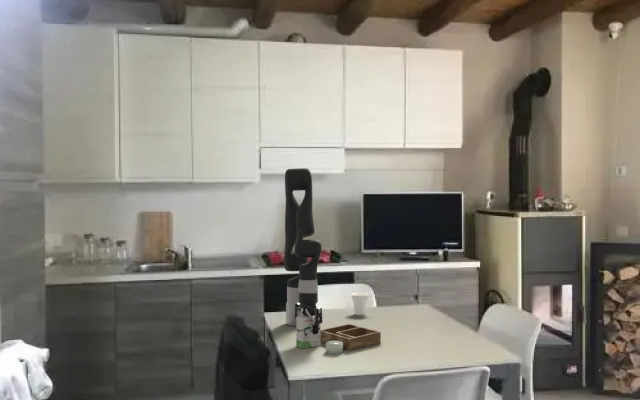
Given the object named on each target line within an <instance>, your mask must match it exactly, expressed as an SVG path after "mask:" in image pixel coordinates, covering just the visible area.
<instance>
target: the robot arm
mask: <svg viewBox="0 0 640 400" xmlns="http://www.w3.org/2000/svg"><path fill="white" fill-rule="evenodd" d="M284 191H285V192H284V193H285V194H284V195H285V213H284V237H285V238H284V251H283V252H284V253H283V254H284V255H283V267H284V270H285V271H286V272H298V275H296V276H294V277H291V278H289V279H287V282H286V283H287V284H286V298H287V299H286V300H287V301H286V303H285V312H286V313H285V319H286V320H285V323H286V324H287V326H291V327H296V317H297V316H300V315H304V316H307V317H309V319H310V320H311V321H312V323H313V334H314V335H315V334H318V325H319V324H320V325H321V324H323V309H322V307H317V304H318V302H319V297H318V296H319V294H318V292H319V287H318V286H319V285H318V265H319V259H320V257H321V253H322V249H323V248H322V243H321V242H320V240H319V239H305V238H308V237H311V236H313V235H314V234H315V222H314V215H313V213H314V212H313V177H312V171H311V170H310V169H309V168H306V167H304V168H303V167H302V168H288V169H286V170H285V173H284ZM295 191H296V192H297V191H299V192H300V191H304V196H303V199H302V200H301V203H300V204H299V202H298V200H297V199H296V197H295V195H294V192H295ZM293 249H294V250H293ZM309 258H310V260H309ZM318 318H319V320H318ZM314 319H315V320H316V321H315V320H314Z"/></svg>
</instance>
